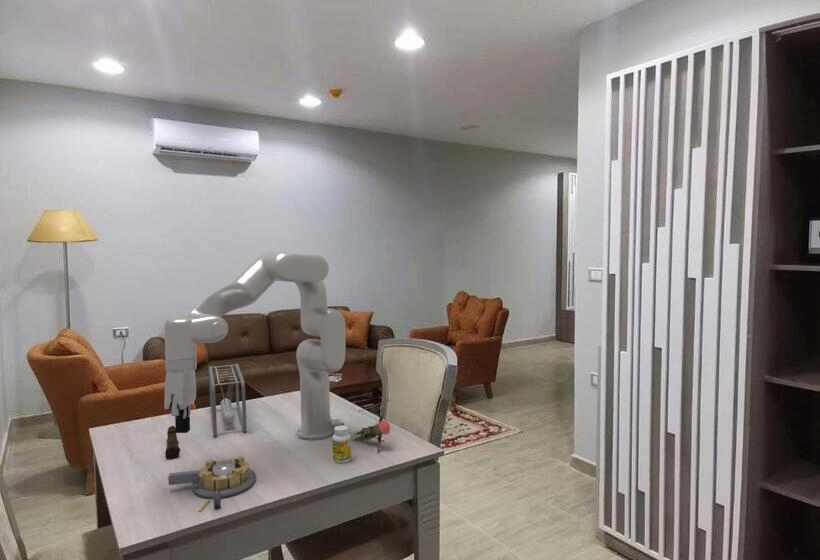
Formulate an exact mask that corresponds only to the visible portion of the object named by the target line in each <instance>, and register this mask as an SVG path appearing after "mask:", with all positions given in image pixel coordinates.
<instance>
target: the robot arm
mask: <svg viewBox="0 0 820 560" xmlns="http://www.w3.org/2000/svg"><path fill="white" fill-rule="evenodd" d="M329 267H330V266H329V265H328V261H327V260H326V259H325V258H324V257H323V256H320V255H317V254H316V255H315V254H300V253H288V252H266V253H263V254H260V255H259V257H257V258H256V259H255V260H254V261H253V262H252V263H251V264H250V265H249V266H248V267H247V268H246V269H245V270H244V271H242V273H241V274H240V275H238V276H237V277H236V278H235V279H234V280H232V282H230V283H229V284H227V285H225V286H224V287H222V288H221V289H219V290H217V291H215V292H213V293H212V294H210V295H209V296H207V297H206V298H205V299H203V300H202V301H201V302H200V303H199V304H198V305H197V306H195V308H194V309H192V310H191V311H190V312H189V313H188V315H187V316H175V317H171V318H168V319H166V320H165V322H164V349H165V350H164V354H165V355H164V356H165V357H164V358H165V361H164V363H165V372H166V375H165V382H164V406H163V407H164V409H165V410H166V411H169V410H170V409H171V416H172V417H174V422H175V424H174V425H175V426H174V427H175V428H176V434H188V432H190V431H191V417H190V415H191V406H192V404H193V403H194V402H195V400H196V399H197V378H196V370H197V344H206V343H207V344H214V343H218V342H221V341H222V340H223V339H225V338H226V336H227V335H228V332H229V325H228V323H227V321H226V320H225V319H224V318H223V316H225V315H227V314H228V313H230V312H232V311H235V310H239V309H242V308H245V307H248V306H250V305H253V304H254V303H256V301H258V300H259V298H260V297H261V296H262V295H263V294H264V293H265V292H266V291H267V290H268V289H269V288H270V287H271V286H272V285H274V283H275V282H287V283H289V282H290V283H294V284H295V285H296V287H297V288H298V292H299V296H300V298H299V299H300V327H301V330H302V331H303V332H302V333H305V334H306V335H309V336H313V337H320V339H317V338H316V339H315V338H308V339H305V340H303V341H301V342H300V344H298V347H297V349H296V352H295V353H296V355H295V356H296V362H297V363H296V364H297V367H298V374H299V385H300V388H299V389H300V390H299V391H300V396H299V397H300V420H301V422H300V423H301V424H300V425H301V426H300V427H299V428H297V430H296V436H297V437H298V438H300V439H304V440H310V441H312V440H314V441H315V440H322V439H327V438H329V437H331V436H333V435H334V434H335V433H334V428H335V427H336V426H341V425H343V426H345V420H341V419H340V418H334V419H333V418H332V416H331V402H330V401H331V399H330V378H329V373H330V374H331V373H336V372H339V370H340V369H342V368H343V366H344V363H345V360H346V339H347V338H346V335H347V334H346V332H347V331H346V321H345V318H344V316H343V315H342V313H341V312H340V311H339V310H337V309H335V308H328V299H327V298H328V297H327V289H326V286H325V283H324V281H323V280H325V279H326V278H327V276H328V274H329V271H330V270H329Z"/></svg>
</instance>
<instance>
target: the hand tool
mask: <svg viewBox="0 0 820 560" xmlns="http://www.w3.org/2000/svg"><path fill="white" fill-rule="evenodd" d="M166 434H167V438H166V439H167V440H166V449H165V452H164V454H165V456H164V458H166V460H174V458H175V459H177V458H179V456H180V452H181V448H180V447H179V440H178V435H177V433H176V428H175V426H174V425H171V426H169V427H168V428H167V433H166Z"/></svg>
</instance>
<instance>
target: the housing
mask: <svg viewBox="0 0 820 560" xmlns="http://www.w3.org/2000/svg"><path fill="white" fill-rule="evenodd" d="M234 469H235V463H234V462H231V461H224V462H220V463H217V464H215V465H214V466H213V476H217V477H219V476H227V475H230V474H232V470H234ZM256 481H257V474H256V471H254V469H251V468H249V479H248V480H247V481H245V482H244V483H243V484H242V485H241V484H240V485H239V486H237V487H234V488H231V489H229V488H228V490H215V491H211V490H205V489H203V488H202V487H200V486H199V482H193V483H191V491H192V494H194V496H196V497H198V498H201V499H206V502H204V503H203V505H202V506H201V507H200V508H199V509H198V510H197V513H199V512H200V513H201V512H203V510H205V509H206V507H207V506H208V505H209V504H210V503H211V502H212V500H213V509H214V510H220V509H221V508H222V501H221V500H222V499H225V498H226V499H227V498H231V497H235V496H237V495H240V494H243V493H245V492H246V491H248V490H250V489H251V488H252V487H253V486H255V484H256Z"/></svg>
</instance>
